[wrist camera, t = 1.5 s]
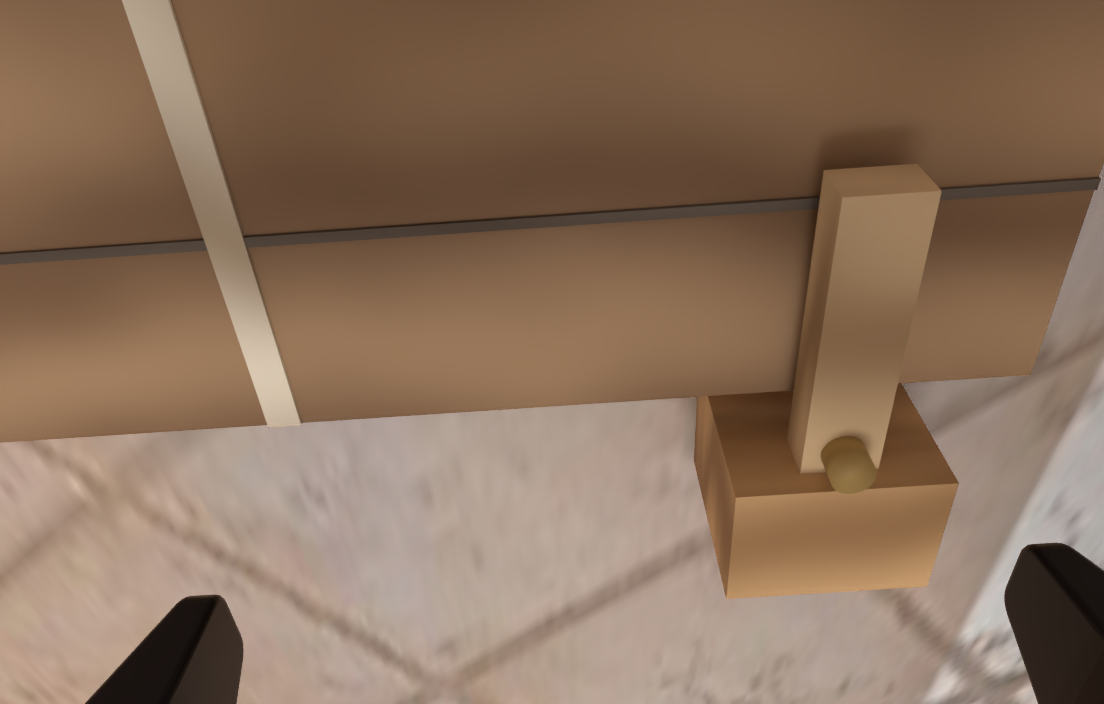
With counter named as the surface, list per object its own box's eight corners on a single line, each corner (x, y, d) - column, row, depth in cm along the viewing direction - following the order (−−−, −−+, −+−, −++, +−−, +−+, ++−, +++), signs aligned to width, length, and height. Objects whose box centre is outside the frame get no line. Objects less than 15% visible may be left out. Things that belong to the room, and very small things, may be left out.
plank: (985, 316, 22) (1033, 377, 20) (9, 381, 23) (-42, 447, 21) (1108, -110, 17) (1192, -87, 14) (-211, -14, 17) (-315, 23, 15)
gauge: (862, 449, 25) (930, 593, 21) (693, 460, 25) (727, 605, 21) (935, 99, 19) (1052, 204, 15) (711, 115, 19) (764, 224, 15)
